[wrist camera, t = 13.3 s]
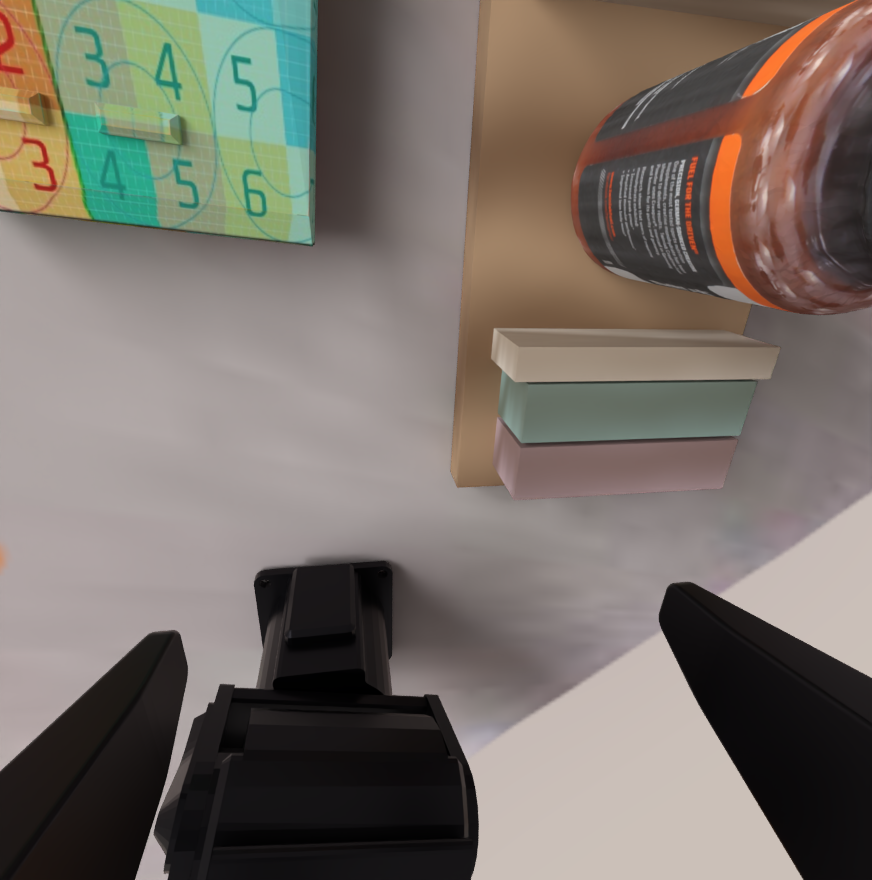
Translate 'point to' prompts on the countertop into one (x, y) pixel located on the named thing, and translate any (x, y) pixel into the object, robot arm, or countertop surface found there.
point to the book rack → (590, 265)
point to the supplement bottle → (744, 174)
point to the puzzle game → (162, 114)
